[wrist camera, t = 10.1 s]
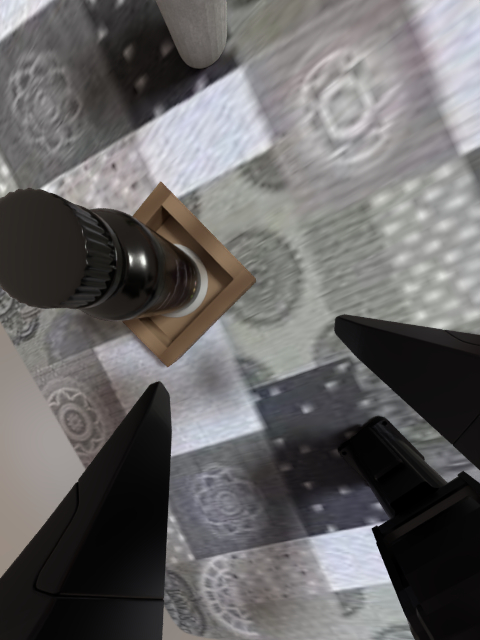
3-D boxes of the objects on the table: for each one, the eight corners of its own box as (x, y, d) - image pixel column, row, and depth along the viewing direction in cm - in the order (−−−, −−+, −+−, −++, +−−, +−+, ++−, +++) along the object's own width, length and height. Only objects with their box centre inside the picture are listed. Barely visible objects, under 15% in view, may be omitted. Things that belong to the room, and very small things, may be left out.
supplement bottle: (137, 302, 19) (-51, 302, 7) (151, 241, 18) (-36, 134, 7) (194, 320, 19) (90, 353, 7) (211, 260, 18) (125, 181, 6)
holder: (255, 281, 19) (255, 278, 16) (177, 359, 20) (167, 367, 18) (172, 196, 19) (160, 181, 16) (101, 282, 20) (81, 279, 18)
